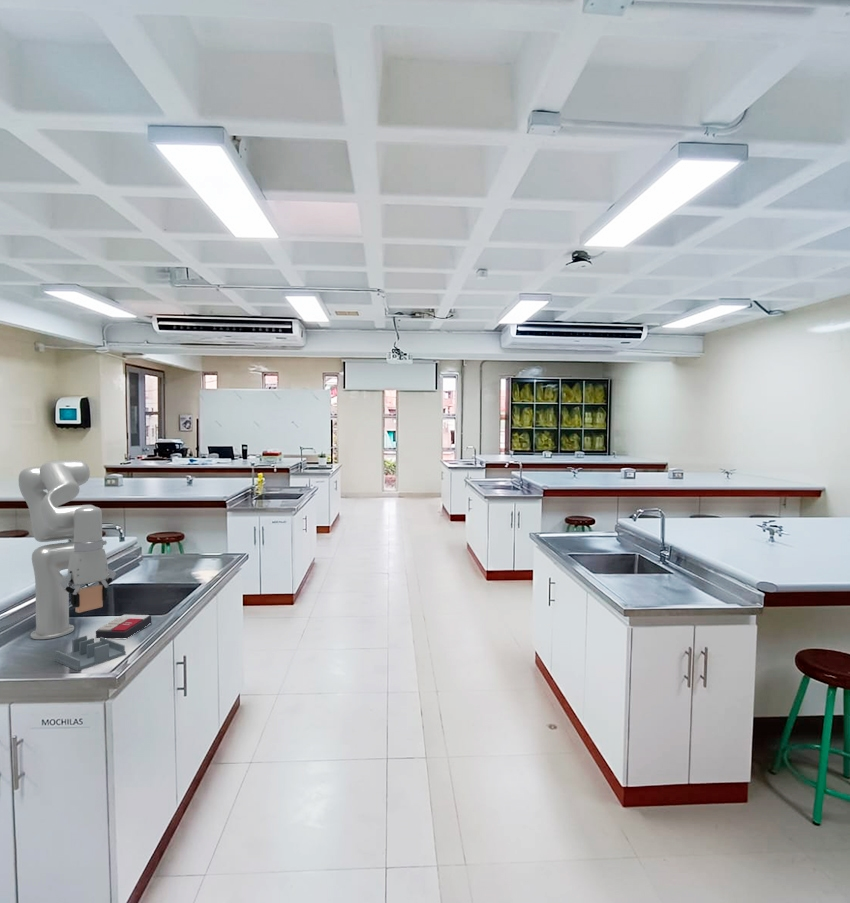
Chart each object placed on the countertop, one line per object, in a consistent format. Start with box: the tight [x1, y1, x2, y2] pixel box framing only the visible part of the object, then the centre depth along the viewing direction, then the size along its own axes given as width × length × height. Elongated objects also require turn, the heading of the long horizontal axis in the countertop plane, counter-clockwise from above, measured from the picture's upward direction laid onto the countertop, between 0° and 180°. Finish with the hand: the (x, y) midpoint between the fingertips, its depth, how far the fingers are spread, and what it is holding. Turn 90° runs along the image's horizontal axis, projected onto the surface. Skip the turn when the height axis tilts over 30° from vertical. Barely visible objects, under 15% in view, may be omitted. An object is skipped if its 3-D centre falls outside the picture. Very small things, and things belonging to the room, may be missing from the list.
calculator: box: [95, 614, 152, 639], centre depth 185 cm, size 11×4×15 cm
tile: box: [74, 583, 104, 614], centre depth 162 cm, size 2×7×7 cm, turn 148°
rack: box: [54, 635, 127, 672], centre depth 162 cm, size 14×14×5 cm
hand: (89, 602), depth 162 cm, fingers closed on tile, 7 cm apart
